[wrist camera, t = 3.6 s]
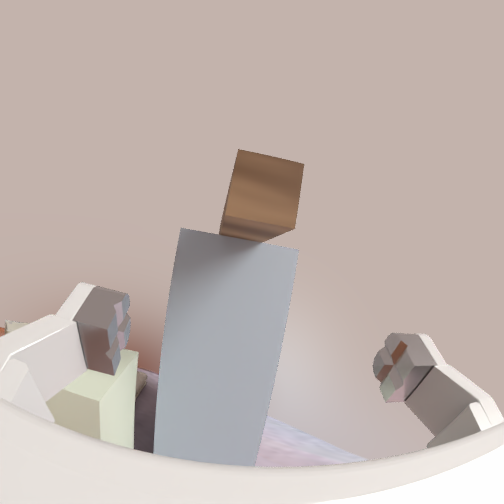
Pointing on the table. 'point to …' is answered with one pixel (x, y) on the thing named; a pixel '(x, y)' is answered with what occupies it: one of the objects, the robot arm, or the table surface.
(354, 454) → the table surface
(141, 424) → the table surface
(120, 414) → the step block
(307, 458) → the table surface
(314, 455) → the table surface
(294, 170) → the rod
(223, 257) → the shelf stand
